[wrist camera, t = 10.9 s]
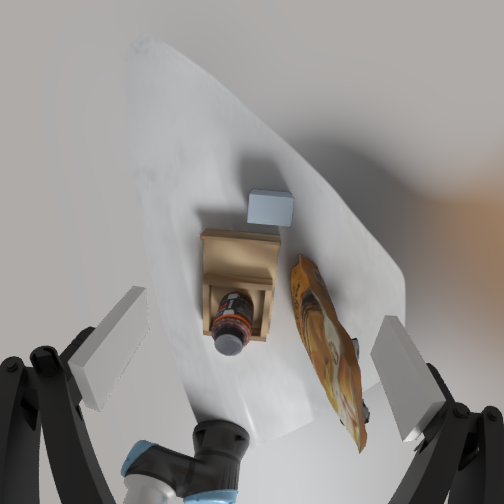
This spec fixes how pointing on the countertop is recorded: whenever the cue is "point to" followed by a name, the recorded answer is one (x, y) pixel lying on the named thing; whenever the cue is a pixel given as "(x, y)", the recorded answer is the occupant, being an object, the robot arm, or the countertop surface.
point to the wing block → (270, 207)
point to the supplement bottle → (233, 323)
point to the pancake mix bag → (328, 347)
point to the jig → (239, 274)
